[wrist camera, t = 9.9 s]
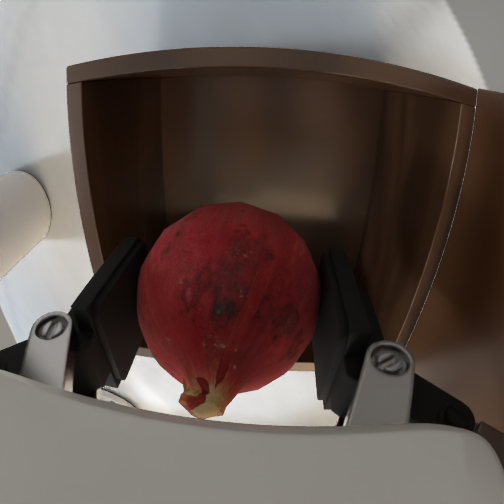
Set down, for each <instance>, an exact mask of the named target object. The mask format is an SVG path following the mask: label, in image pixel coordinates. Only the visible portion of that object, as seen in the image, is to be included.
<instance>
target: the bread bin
mask: <svg viewBox="0 0 504 504" xmlns="http://www.w3.org/2000/svg"><path fill="white" fill-rule="evenodd" d="M67 84H68V85H67V104H68V121H69V133H70V144H71V153H72V162H73V170H74V177H75V184H76V190H77V197H78V203H79V208H80V214H81V219H82V224H83V229H84V234H85V239H86V243H87V248H88V252H89V257H90V261H91V265H92V269H93V273H94V275H95V273H96V272H97V271H98V269H99V268H100V267H101V266H102V264H103V263H104V262H105V261H106V259H107V258H108V257H109V256H110V254H111V253H112V252H113V251H114V249H115V248H116V247H117V246H118V244H119V243H120V242H121V241H122V240H123V238H125V237H135V238H141V240H142V242H145V243H146V245H147V251H148V254H149V252H150V251H151V249H152V247H153V246H154V244H155V243H156V241H157V240H158V238H159V237H160V235H161V234H162V232H163V231H164V229H166V228H167V227H169V226H170V225H172V224H174V223H175V222H177V221H178V220H180V219H182V218H183V217H185V216H186V215H188V214H190V213H191V212H193V211H194V210H196V209H198V208H199V207H201V206H203V205H208V204H219V203H229V202H240V201H241V202H244V203H247V204H250V205H253V206H255V207H258V208H261V209H264V210H267V211H270V212H273V213H276V214H278V215H279V216H280V217H281V218H282V219H283V220H284V221H285V222H286V223H287V224H288V225H289V226H291V227H292V228H293V229H294V230H295V231H296V232H297V233H298V234H299V235H300V236H301V237H302V238H303V239H304V241H305V243H306V246H307V248H308V250H309V252H310V254H311V257H312V260H313V262H314V265H315V267H316V270H317V272H319V266H320V260H321V255H322V253H327V252H328V250H329V249H331V250H344V251H345V252H346V255H347V257H348V260H349V263H350V266H351V269H352V271H353V274H354V277H355V280H356V283H357V286H358V289H366V290H367V292H368V294H369V297H370V299H371V302H372V305H373V308H374V311H375V313H376V316H377V319H378V322H379V325H380V328H381V331H382V334H383V337H384V340H389V341H394V342H397V343H400V344H402V345H403V346H405V347H406V345H407V343H408V340H409V338H410V336H411V334H412V332H413V329H414V327H415V325H416V323H417V320H418V318H419V316H420V313H421V311H422V308H423V306H424V303H425V301H426V298H427V296H428V293H429V291H430V288H431V285H432V283H433V280H434V277H435V275H436V272H437V269H438V266H439V263H440V260H441V257H442V254H443V251H444V248H445V245H446V242H447V239H448V235H449V232H450V229H451V225H452V222H453V218H454V215H455V211H456V207H457V203H458V200H459V196H460V191H461V187H462V183H463V178H464V174H465V169H466V164H467V159H468V154H469V149H470V143H471V137H472V131H473V124H474V117H475V106H476V98H477V90H476V89H474V88H472V87H469V86H466V85H463V84H460V83H457V82H454V81H451V80H448V79H445V78H442V77H439V76H435V75H432V74H428V73H425V72H421V71H418V70H414V69H410V68H406V67H402V66H398V65H393V64H389V63H384V62H379V61H374V60H369V59H364V58H358V57H353V56H346V55H340V54H333V53H325V52H317V51H308V50H297V49H284V48H267V47H200V48H183V49H170V50H160V51H151V52H142V53H135V54H128V55H121V56H115V57H110V58H104V59H99V60H94V61H89V62H84V63H80V64H75V65H71V66H68V67H67ZM136 355H140V356H146V357H152V358H154V357H153V355H152V353H151V352H150V350H149V348H148V346H147V343H146V341H145V338H144V337H143V339H142V342H141V344H140V346H139V349H138V351H137V353H136ZM288 371H315V366H314V355H313V345H312V340H311V341H310V342H309V344H308V345H307V347H306V348H305V350H304V351H303V353H302V354H301V356H300V357H299V358H298V360H297V361H296V363H295V364H294V366H293V367H292V368H291V369H289V370H288Z"/></svg>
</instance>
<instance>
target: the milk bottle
mask: <svg viewBox="0 0 504 504" xmlns="http://www.w3.org/2000/svg"><path fill="white" fill-rule="evenodd" d="M50 222H51V211H50V205H49V201H48V198H47V196H46V193H45V191H44V190H43V188H42V186H41V185H40V184H39V182H38V181H37V180H36V179H35V178H34V177H33V176H31V175H30V174H28V173H26V172H23V171H10V172H8V173H6V174H4V175H2V176H0V280H1V279H2V278H3V277H4V276H5V275H6V274H7V273H8V272H9V271H10V270H11V269H12V268H13V267H14V266H15V265H16V264H17V263H18V262H19V261H20V260H21V259H22V258H24V257H25V256H26V255H27V254H28V253H29V252H30V251H31V250H32V249H33V248H34V247H35V246H36V245H37V244H39V243H40V242H41V241H42V240H43V239H44V237H45V236H46V234H47V232H48V230H49V227H50Z"/></svg>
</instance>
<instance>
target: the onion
mask: <svg viewBox="0 0 504 504" xmlns="http://www.w3.org/2000/svg"><path fill="white" fill-rule="evenodd" d="M320 300H321V280H320V278H319V275H318V272H317V270H316V267H315V265H314V262H313V260H312V257H311V254H310V252H309V250H308V248H307V246H306V243H305V241H304V239H303V238H302V237H301V236H300V235H299V234H298V233H297V232H296V231H295V230H294V229H293V228H292V227H291V226H289V225H288V224H287V223H286V222H285V221H284V220H283V219H282V218H281V217H280V216H279V215H278V214H276V213H273V212H270V211H267V210H264V209H261V208H258V207H255V206H253V205H250V204H247V203H244V202H241V201H240V202H229V203H219V204H208V205H203V206H201V207H199V208H198V209H196V210H194V211H193V212H191V213H190V214H188V215H186V216H185V217H183V218H182V219H180V220H178V221H177V222H175V223H174V224H172V225H170V226H169V227H167V228H166V229H164V231H163V232H162V234H161V235H160V237H159V238H158V240H157V241H156V243H155V244H154V246H153V247H152V249H151V251H150V252H149V254H148V255H147V257H146V259H145V261H144V262H143V264H142V266H141V268H140V273H139V278H138V287H137V315H138V321H139V325H140V328H141V330H142V333H143V336H144V338H145V341H146V343H147V346H148V348H149V350H150V352H151V353H152V355H153V357H154V358H155V359H156V361H157V362H158V363H159V365H160V366H161V367H162V368H163V369H165V370H166V371H167V372H168V373H169V374H170V375H171V376H173V377H174V378H175V379H176V380H178V381H179V382H180V383H182V384H183V387H184V392H183V393H182V394H181V396H180V399H179V403H180V404H181V405H182V406H183V407H184V408H185V409H186V410H187V411H188V412H189V413H190V414H191V415H193V416H194V417H196V418H198V419H206V418H209V417H214V416H222V415H223V414H224V411H225V408H226V407H227V405H228V404H229V403H230V402H231V401H232V400H233V399H234V397H235V396H236V395H237V394H238V393H243V392H248V391H253V390H258V389H260V388H261V387H263V386H265V385H267V384H268V383H270V382H272V381H274V380H275V379H277V378H279V377H280V376H282V375H284V374H285V373H286V372H287V371H288V370H289V369H291V368H292V367H293V366H294V364H295V363H296V361H297V360H298V358H299V357H300V356H301V354H302V353H303V351H304V350H305V348H306V347H307V345H308V344H309V342H310V341H311V340H312V338H313V335H314V332H315V329H316V326H317V322H318V315H319V308H320Z"/></svg>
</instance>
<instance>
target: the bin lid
mask: <svg viewBox="0 0 504 504" xmlns="http://www.w3.org/2000/svg"><path fill="white" fill-rule="evenodd" d="M406 348H407V349H408V350H409V351H410V352H411V353H412V355H413V357H414V359H415V373H416V374H418V375H419V376H421V377H423V378H424V379H426V380H427V381H429V382H431V383H432V384H434V385H435V386H437V387H439V388H440V389H442V390H444V391H445V392H447V393H448V394H450V395H452V396H453V397H455V398H457V399H458V400H460V401H462V402H463V403H464V404H466V405H467V406H468V407H469V408H470V409H471V411H472V412H473V415H474V417H475V422H476V423H478V424H479V422H480V421H483V422H485V423H487V424H488V425H490V426H492V427H494V428H495V429H497V430H499V431H501V432H502V433H504V93H500V92H495V91H490V90H485V89H478V94H477V104H476V112H475V120H474V127H473V133H472V139H471V145H470V151H469V156H468V161H467V166H466V171H465V176H464V180H463V185H462V189H461V193H460V197H459V201H458V205H457V209H456V213H455V216H454V220H453V223H452V227H451V230H450V233H449V237H448V240H447V243H446V246H445V249H444V253H443V256H442V259H441V261H440V264H439V267H438V270H437V273H436V276H435V278H434V281H433V284H432V286H431V289H430V292H429V294H428V297H427V299H426V302H425V304H424V307H423V309H422V312H421V314H420V316H419V319H418V321H417V323H416V326H415V328H414V330H413V332H412V335H411V337H410V339H409V341H408V343H407V345H406Z"/></svg>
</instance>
